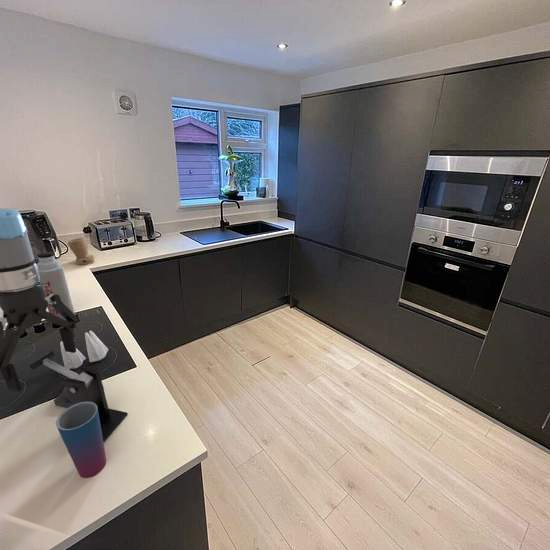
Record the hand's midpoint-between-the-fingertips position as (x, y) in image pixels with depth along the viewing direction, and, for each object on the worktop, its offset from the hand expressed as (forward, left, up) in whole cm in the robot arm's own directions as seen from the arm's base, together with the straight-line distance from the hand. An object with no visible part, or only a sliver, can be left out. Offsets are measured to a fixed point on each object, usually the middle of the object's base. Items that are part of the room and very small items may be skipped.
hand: (45, 368), depth 67 cm
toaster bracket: (+10, 0, -16) cm, 18 cm away
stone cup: (-91, +100, -16) cm, 136 cm away
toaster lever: (+5, 0, -1) cm, 5 cm away
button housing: (-1, +7, -16) cm, 17 cm away
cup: (+18, -9, -16) cm, 25 cm away
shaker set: (-11, +20, -16) cm, 27 cm away
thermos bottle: (-42, +40, -16) cm, 60 cm away
